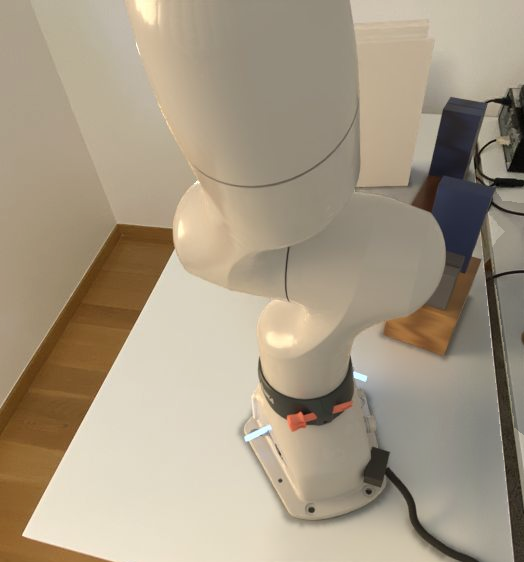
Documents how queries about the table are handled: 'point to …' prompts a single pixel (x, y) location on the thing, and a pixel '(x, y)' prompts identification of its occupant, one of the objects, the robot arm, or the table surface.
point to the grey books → (447, 281)
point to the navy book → (461, 214)
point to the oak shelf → (435, 317)
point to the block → (391, 97)
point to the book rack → (452, 146)
